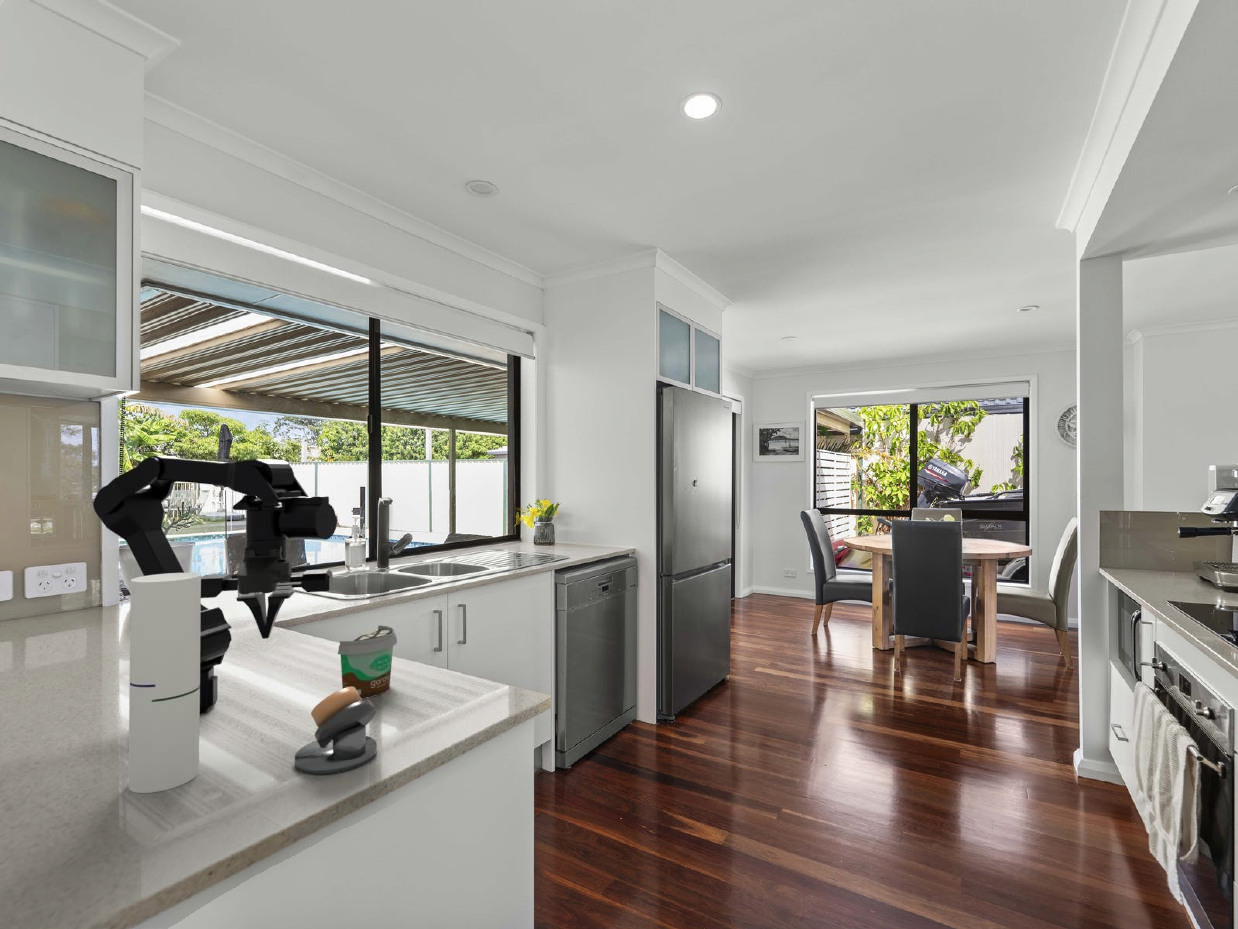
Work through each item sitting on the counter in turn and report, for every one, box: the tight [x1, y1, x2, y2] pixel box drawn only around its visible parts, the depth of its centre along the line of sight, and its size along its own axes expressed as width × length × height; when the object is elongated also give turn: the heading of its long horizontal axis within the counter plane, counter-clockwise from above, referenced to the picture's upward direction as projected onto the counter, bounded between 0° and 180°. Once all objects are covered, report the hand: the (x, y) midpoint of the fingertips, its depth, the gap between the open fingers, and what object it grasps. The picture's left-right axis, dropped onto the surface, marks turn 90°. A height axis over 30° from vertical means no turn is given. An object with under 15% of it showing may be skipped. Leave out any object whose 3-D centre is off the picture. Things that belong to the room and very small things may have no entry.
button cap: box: [310, 687, 363, 729], centre depth 85 cm, size 6×6×6 cm
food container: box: [337, 624, 398, 699], centre depth 111 cm, size 12×6×10 cm, turn 168°
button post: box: [294, 699, 378, 776], centre depth 85 cm, size 10×10×8 cm
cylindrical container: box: [127, 572, 202, 794], centre depth 79 cm, size 7×7×25 cm
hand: (265, 638), depth 100 cm, fingers closed
